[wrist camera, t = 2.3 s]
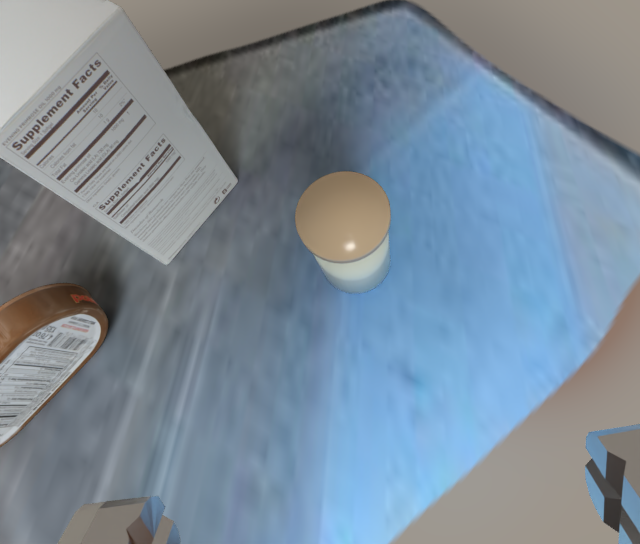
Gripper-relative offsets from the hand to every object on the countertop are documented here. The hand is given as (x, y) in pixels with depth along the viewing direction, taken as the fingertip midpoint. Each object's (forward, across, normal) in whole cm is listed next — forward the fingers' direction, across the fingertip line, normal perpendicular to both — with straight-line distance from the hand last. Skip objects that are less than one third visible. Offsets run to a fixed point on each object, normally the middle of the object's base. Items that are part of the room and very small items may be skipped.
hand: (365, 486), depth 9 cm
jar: (+24, 0, +6) cm, 25 cm away
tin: (+20, +25, +10) cm, 34 cm away
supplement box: (+30, +15, 0) cm, 34 cm away
